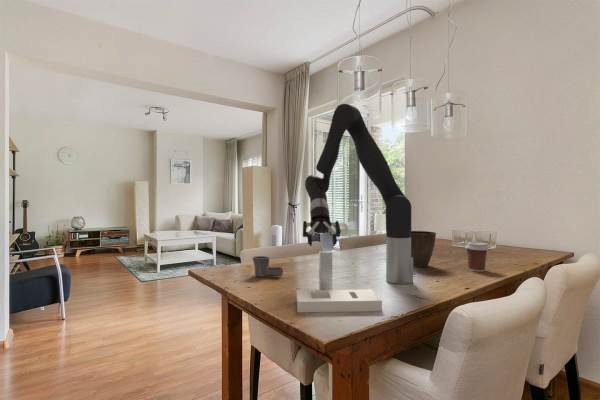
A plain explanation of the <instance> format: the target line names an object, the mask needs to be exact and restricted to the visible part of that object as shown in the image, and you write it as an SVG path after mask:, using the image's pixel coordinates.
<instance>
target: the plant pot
mask: <svg viewBox="0 0 600 400" xmlns="http://www.w3.org/2000/svg"><path fill="white" fill-rule="evenodd" d="M436 237H437V233H436V232H434V231H427V230H426V231H425V230H411V257H412V258H413V267H415V268H426V267H427V268H428V266H429V264H430V262H431V258H432V255H433V252H434V248H435V244H436Z"/></svg>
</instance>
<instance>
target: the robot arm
mask: <svg viewBox="0 0 600 400" xmlns="http://www.w3.org/2000/svg"><path fill="white" fill-rule="evenodd" d="M346 131H347V132H348V135H350V137H351V139H352V140H353V143H354V146H355V152H356V156H357V159H358V161H359V163H360V165H361V167H362V168H363V170H364V172H365V174H366V175H367V176H368V178H369V179H370V180H371V182H372V183H373V185H374V186H375V187H376V188H377V190H378V192H379V193H380V195H381V197H382V200H383V202H384V204H385V242H386V243H385V244H386V245H385V255H386V256H385V278H386V279H385V280H386V282H388V283H391V284H397V285H409V284H413V283H414V266H413V258H412V257H411V231H412V204H411V201H410V200H409V199H408V198H407V196H406V195H405V194H404V192H403V191H402V190H401V188H400V187H399V185H398V183H397V182H396V180H395V178H394V176H393V173H392V170H391V168H390V166H389V163H388V161H387V159H386V157H385V156H384V153H383V152H382V150H381V148H380V147H379V146H378V144H377V142H376V141H375V139H374V138H373V136H372V134H371V133H370V131H369V130H368V127H367V125H366V122H365V121H364V118H363V116H362V114H361V112H360V110H359V109H358V107H357V106H354V105H352V104H349V103H347V102H346V103H340V104H338V105H337V106H336V107H335V109H334V111H333V115H332V119H331V123H330V127H329V131H328V134H327V137H326V141H325V143H324V147H323V149H322V152H321V154H320V157H319V159H318V162H317V163H316V166H315V169H316V170H317V171H318V172H319V173H320V174H323V176H322V177H321V176H318V175H314V174H310V175H308V176H307V177H306V179H305V181H304V182H305V183H304V185H305V186H304V188H305V190H306V193H307V195H308V198H309V201H310V206H309V207H310V208H309V214H310V222H307V221H306V220H304V221H302V223H303V224H302V226H303V227H302V237H304V238H307V245H309V246H310V247H311V246H312V247H313V245H312V244H313V237H312V236H314V235H315V234H327V235H328V236H330V237H331V241H332V246H333V247H334V246H336V245H337V242H338V240H337V238H340V236H341V227H340V223H339V221H338V220H336V221H335V222H332V221H331V218H330V217H331V216H330V210H329V204H328V198H327V192H328V190H329V188H330V183H331V176H332V172H333V169H334V167H335V165H336V162H337V160H338V157H339V153H340V148H341V147H340V146H341V142H342V138H343V136H344V134H345V132H346ZM309 227H310V229H309ZM333 228H334V229H335V230H334V229H333ZM307 229H309V231H307Z"/></svg>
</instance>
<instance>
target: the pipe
mask: <svg viewBox="0 0 600 400" xmlns="http://www.w3.org/2000/svg"><path fill="white" fill-rule="evenodd" d="M252 260H253V265H254V275H255V276H256V277H258V278H264V277H282V276H283V273H284V270H283V267H282V266H270V257H269V256H266V255H265V256H264V255H258V256H257V255H256V256H252Z"/></svg>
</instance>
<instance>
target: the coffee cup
mask: <svg viewBox="0 0 600 400" xmlns="http://www.w3.org/2000/svg"><path fill="white" fill-rule="evenodd" d="M465 249H466V254H467V264H468V265H467V267H468V270H469V271H472V272H478V273H479V272H481V273H483V272H485V271H486V270H485V269H486V262H487V251H488V250H489V247H488V246H487V244H486V243H484V242H475V241H473V242H471V241H470V242H467V245H465Z"/></svg>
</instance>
